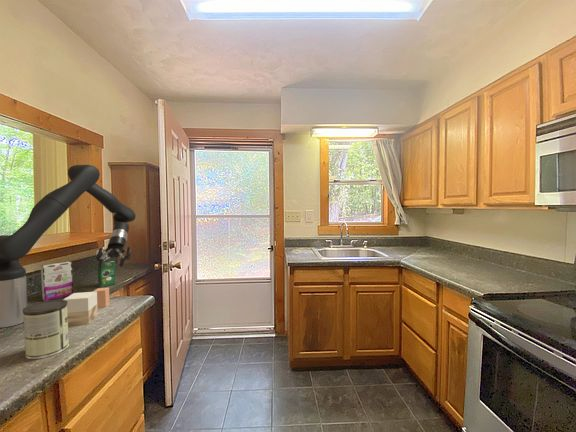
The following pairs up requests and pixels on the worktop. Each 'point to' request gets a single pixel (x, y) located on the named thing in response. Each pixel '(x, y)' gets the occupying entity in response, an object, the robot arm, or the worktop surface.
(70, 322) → the oak tower block
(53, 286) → the candy bar box
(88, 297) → the cream tower block
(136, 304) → the worktop surface
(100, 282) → the coffee box
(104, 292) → the peach block
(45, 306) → the coffee can
